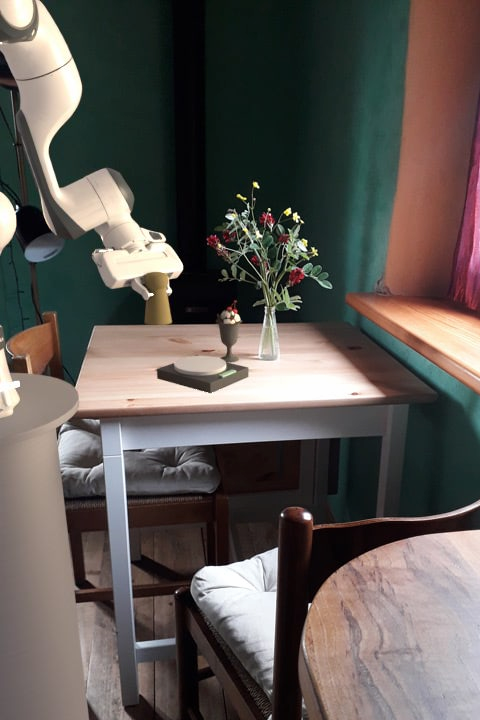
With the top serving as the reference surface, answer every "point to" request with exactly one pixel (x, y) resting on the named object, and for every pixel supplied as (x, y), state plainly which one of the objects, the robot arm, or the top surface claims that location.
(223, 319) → the sundae
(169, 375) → the scale
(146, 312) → the cork
